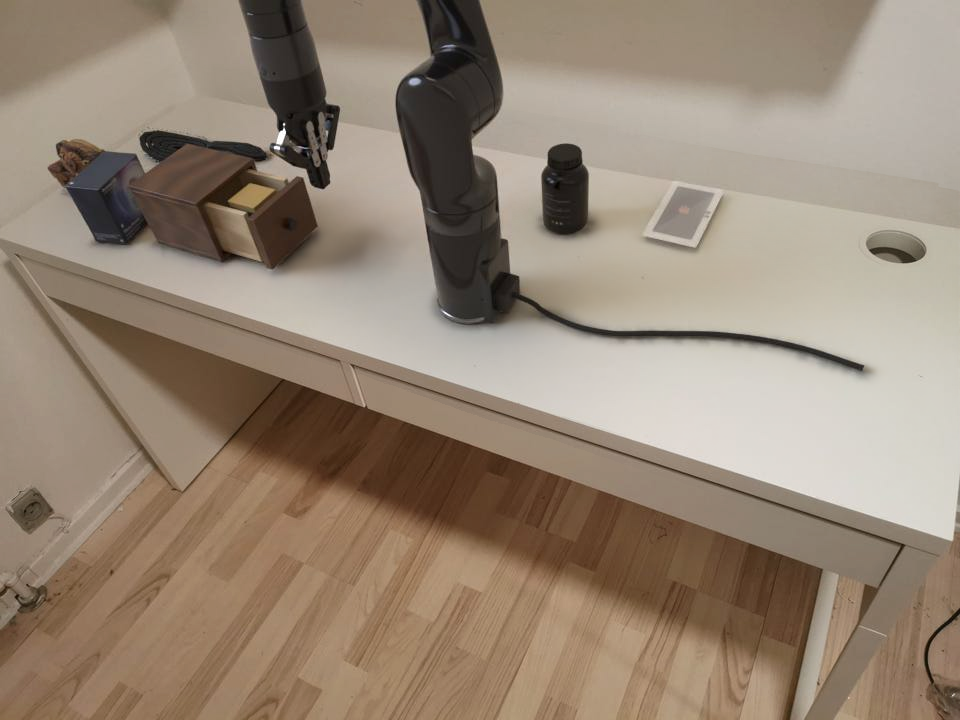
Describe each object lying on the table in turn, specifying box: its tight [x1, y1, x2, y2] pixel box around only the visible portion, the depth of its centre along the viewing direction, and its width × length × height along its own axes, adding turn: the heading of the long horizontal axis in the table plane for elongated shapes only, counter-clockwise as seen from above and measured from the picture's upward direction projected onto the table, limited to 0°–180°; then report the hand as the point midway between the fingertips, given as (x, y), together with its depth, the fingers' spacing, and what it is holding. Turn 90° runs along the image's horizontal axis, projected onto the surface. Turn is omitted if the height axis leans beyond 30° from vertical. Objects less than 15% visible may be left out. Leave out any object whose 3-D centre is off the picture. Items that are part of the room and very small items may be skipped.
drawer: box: [202, 169, 319, 271], centre depth 105 cm, size 14×11×9 cm
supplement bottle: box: [540, 142, 590, 236], centre depth 102 cm, size 7×7×12 cm
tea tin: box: [228, 183, 277, 217], centre depth 104 cm, size 5×5×7 cm
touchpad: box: [641, 180, 725, 249], centre depth 103 cm, size 8×15×2 cm, turn 152°
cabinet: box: [128, 144, 258, 263], centre depth 109 cm, size 14×13×11 cm
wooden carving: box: [47, 138, 105, 189], centre depth 119 cm, size 16×5×10 cm, turn 70°
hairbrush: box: [138, 126, 268, 162], centre depth 128 cm, size 8×4×25 cm
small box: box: [64, 150, 148, 245], centre depth 112 cm, size 11×6×10 cm, turn 166°
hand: (322, 185), depth 99 cm, fingers closed
